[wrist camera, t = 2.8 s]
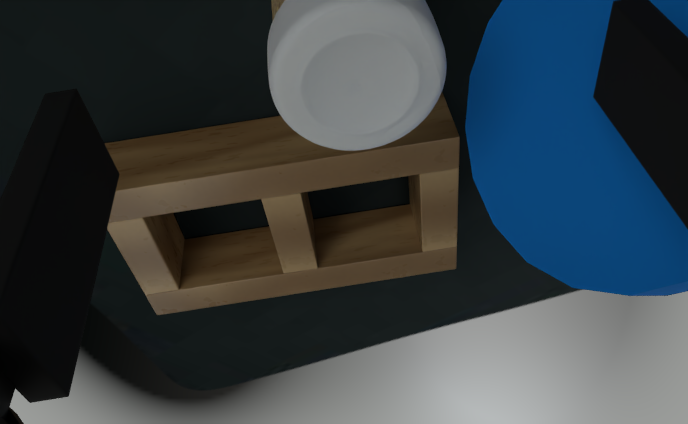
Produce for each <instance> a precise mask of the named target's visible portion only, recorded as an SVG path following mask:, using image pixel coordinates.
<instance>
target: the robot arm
mask: <svg viewBox="0 0 688 424" xmlns="http://www.w3.org/2000/svg"><path fill="white" fill-rule="evenodd" d="M593 98H594V99H595V100H596V102H597V103H598V105H599V106H600V107H601V109H602V110H603V112H604V113H605V114H606V116H607V117H608V119H609V120H610V121H611V123H612V124H613V126H614V127H615V128H616V130H617V131H618V132H619V134H620V135H621V137H622V138H623V139H624V141H625V142H626V144H627V145H628V146H629V148H630V149H631V151H632V152H633V153H634V155H635V156H636V158H637V159H638V160H639V162H640V163H641V165H642V166H643V167H644V169H645V170H646V172H647V173H648V174H649V176H650V177H651V179H652V180H653V181H654V183H655V184H656V186H657V187H658V188H659V190H660V191H661V193H662V194H663V195H664V197H665V198H666V200H667V201H668V202H669V204H670V205H671V207H672V208H673V209H674V211H675V212H676V214H677V215H678V216H679V218H680V219H681V221H682V222H683V223H684V225H685V226H686V228H687V229H688V37H687V36H686V35H685V34H684V33H683V32H682V31H681V30H679V29H678V28H677V27H676V26H675V25H674V24H673V23H672V22H671V21H670V20H669V19H668V18H667V17H666V16H665V15H664V14H663V13H662V12H661V11H660V10H659V9H658V8H657V7H656V6H655V5H654V4H652V3H651V2H650V1H649V0H617V1H613V4H612V9H611V14H610V18H609V23H608V28H607V33H606V38H605V42H604V47H603V52H602V57H601V61H600V66H599V71H598V76H597V81H596V85H595V90H594V95H593ZM119 175H120V174H119V172H118V170H117V168H116V166H115V164H114V162H113V160H112V158H111V156H110V154H109V152H108V150H107V148H106V146H105V144H104V142H103V140H102V138H101V136H100V134H99V132H98V130H97V128H96V126H95V124H94V122H93V120H92V118H91V116H90V114H89V112H88V110H87V108H86V106H85V105H84V103H83V101H82V99H81V97H80V95H79V93H78V91H77V89H72V90H66V91H60V92H53V93H47V94H45V95H44V98H43V100H42V102H41V105H40V107H39V109H38V112H37V114H36V116H35V119H34V121H33V124H32V126H31V128H30V131H29V133H28V135H27V138H26V140H25V142H24V145H23V147H22V150H21V152H20V154H19V157H18V159H17V161H16V164H15V166H14V168H13V171H12V173H11V176H10V178H9V180H8V183H7V185H6V187H5V190H4V192H3V194H2V197H1V199H0V424H24V423H23V422H22V421H21V419H20V418H19V416H18V415H17V414H16V413H15V412H14V411H13V410H12V409H11V408H10V407H9V406H10V403H11V400H12V397H13V393H14V390H15V388H16V389H17V390H18V391H19V392H20V393H21V394H22V395H23V396H24V397H25V398H26V399H27V400H28V401H29V402H30V403H31V402H37V401H43V400H49V399H56V398H62V397H68V396H69V392H70V388H71V384H72V379H73V375H74V371H75V366H76V362H77V358H78V353H79V349H80V344H81V340H82V336H83V331H84V327H85V323H86V318H87V314H88V310H89V305H90V301H91V297H92V292H93V288H94V284H95V279H96V275H97V271H98V266H99V262H100V258H101V253H102V249H103V244H104V240H105V236H106V231H107V227H108V223H109V218H110V214H111V210H112V205H113V201H114V197H115V192H116V188H117V183H118V179H119Z"/></svg>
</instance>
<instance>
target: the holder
mask: <svg viewBox="0 0 688 424" xmlns="http://www.w3.org/2000/svg"><path fill="white" fill-rule="evenodd" d="M105 146H106V148H107V150H108V152H109V154H110V156H111V158H112V160H113V162H114V164H115V166H116V168H117V170H118V172H119V174H120V175H119V179H118V183H117V188H116V192H115V197H114V201H113V205H112V210H111V214H110V218H109V223H108V227H107V229H108V231H109V233H110V235H111V236H112V238H113V240H114V241H115V243H116V245H117V247H118V248H119V250H120V252H121V253H122V255H123V257H124V259H125V260H126V262H127V264H128V266H129V267H130V269H131V271H132V272H133V274H134V276H135V278H136V279H137V281H138V283H139V284H140V286H141V288H142V290H143V291H144V293H145V294H146V297H147V299H148V300H149V302H150V304H151V306H152V307H153V309H154V311H155V312H156V314H157V315H162V314H169V313H175V312H181V311H188V310H194V309H201V308H207V307H214V306H220V305H226V304H233V303H239V302H246V301H252V300H258V299H265V298H271V297H278V296H284V295H291V294H297V293H303V292H310V291H316V290H323V289H329V288H336V287H342V286H348V285H355V284H361V283H368V282H374V281H381V280H387V279H393V278H400V277H406V276H413V275H419V274H425V273H432V272H438V271H445V270H451V269H456V261H457V221H458V181H459V146H460V137H459V134H458V131H457V129H456V126H455V124H454V121H453V118H452V116H451V113H450V111H449V108H448V105H447V103H446V100H445V98H444V95H443V93H442V92H441V95H440V97H439V99H438V101H437V103H436V104H435V106H434V108H433V109H432V111H431V112H430V113H429V115H428V116H427V117H426V118H425V119H424V120H423V121H422V122H421V123H420V124H419V125H418V126H417V127H416V128H415V129H413V130H412V131H411V132H409V133H408V134H406V135H405V136H403V137H401V138H400V139H398V140H395V141H393V142H391V143H388V144H386V145H383V146H380V147H376V148H372V149H366V150H357V151H344V150H337V149H332V148H328V147H324V146H320V145H318V144H315V143H313V142H311V141H309V140H307V139H305V138H304V137H302V136H301V135H299V134H298V133H297V132H295V131H294V130H293V129H292V128H291V127H290V126H289V125H288V124H287V123H286V122H285V121H284V119H283V118H282V117H281V116H275V117H269V118H262V119H256V120H250V121H243V122H237V123H231V124H225V125H218V126H212V127H206V128H199V129H193V130H187V131H180V132H174V133H168V134H161V135H155V136H149V137H142V138H136V139H130V140H123V141H117V142H111V143H105ZM404 176H408V179H409V197H410V204H408V205H401V206H395V207H389V208H382V209H376V210H370V211H363V212H357V213H350V214H344V215H338V216H331V217H325V218H319V219H313V215H312V211H311V206H310V202H309V197H308V193H307V192H309V191H315V190H322V189H328V188H334V187H341V186H347V185H353V184H360V183H366V182H372V181H379V180H385V179H392V178H398V177H404ZM258 199H261V200H262V203H263V206H264V210H265V213H266V216H267V220H268V223H269V226H267V227H261V228H255V229H248V230H242V231H236V232H229V233H223V234H216V235H210V236H204V237H197V238H191V239H184V236H183V234H182V232H181V230H180V228H179V225H178V223H177V221H176V219H175V217H174V214H173V213H175V212H182V211H188V210H194V209H201V208H207V207H213V206H220V205H226V204H232V203H239V202H245V201H252V200H258Z"/></svg>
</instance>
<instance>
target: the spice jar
mask: <svg viewBox="0 0 688 424" xmlns="http://www.w3.org/2000/svg"><path fill="white" fill-rule="evenodd" d="M271 2H272V13H273V22H272V24H271V28H270V31H269V37H268V47H267V59H268V76H269V87H270V91H271V95H272V98H273V101H274V104H275V106H276V108H277V110H278V112H279V113H280V115H281V117H282V118H283V119H284V121H285V122H286V123H287V124H288V125H289V126H290V127H291V128H292V129H293V130H294V131H295V132H297V133H298V134H299V135H301V136H302V137H304V138H305V139H307V140H309V141H311V142H313V143H315V144H318V145H320V146H324V147H328V148H332V149H337V150H344V151H357V150H366V149H372V148H376V147H380V146H383V145H386V144H388V143H391V142H393V141H395V140H398V139H400V138H401V137H403V136H405V135H406V134H408V133H409V132H411V131H412V130H413V129H415V128H416V127H417V126H418V125H419V124H420V123H421V122H422V121H423V120H424V119H425V118H426V117H427V116H428V115H429V113H430V112H431V111H432V109H433V108H434V106H435V104H436V103H437V101H438V99H439V97H440V95H441V92H442V90H443V86H444V82H445V77H446V54H445V49H444V45H443V42H442V39H441V36H440V33H439V30H438V28H437V25H436V23H435V20H434V18H433V15H432V13H431V11H430V9H429V7H428V5H427V3H426V1H425V0H271Z"/></svg>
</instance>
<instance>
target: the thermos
mask: <svg viewBox="0 0 688 424" xmlns="http://www.w3.org/2000/svg"><path fill="white" fill-rule="evenodd" d="M613 1H617V0H502V2H501V3H500V5H499V6H498V8H497V10H496V11H495V13H494V14H493V16H492V17H491V19H490V20H489V22H488V24H487V27H486V30H485V33H484V36H483V39H482V42H481V45H480V48H479V50H478V53H477V56H476V59H475V62H474V65H473V68H472V71H471V74H470V81H469V92H468V103H467V114H466V125H465V130H466V136H467V143H468V149H469V156H470V162H471V169H472V175H473V180H474V182H475V184H476V186H477V188H478V191H479V193H480V195H481V197H482V200H483V202H484V204H485V206H486V209H487V211H488V213H489V215H490V217H491V220H492V222H493V224H494V225H495V226H496V228H497V229H498V230H499V231H500V232H501V233H502V234H503V236H504V237H505V238H506V239H507V240H508V241H509V242H510V244H511V245H512V246H513V247H514V248H515V249H516V250H517V251H518V253H519V254H520V255H521V256H522V257H523V258H524V259H525V261H526V262H528V263H529V264H531V265H533V266H535V267H537V268H538V269H540V270H542V271H544V272H545V273H547V274H549V275H551V276H553V277H554V278H556V279H558V280H560V281H562V282H563V283H565V284H567V285H569V286H570V287H572V288H578V289H585V290H593V291H600V292H607V293H614V294H621V295H628V296H658V295H660V296H661V295H662V296H663V295H664V296H666V295H667V296H668V295H672V294H676V293H681V292H685V291H688V229H687V228H686V226H685V225H684V223H683V222H682V221H681V219H680V218H679V216H678V215H677V214H676V212H675V211H674V209H673V208H672V207H671V205H670V204H669V202H668V201H667V200H666V198H665V197H664V195H663V194H662V193H661V191H660V190H659V188H658V187H657V186H656V184H655V183H654V181H653V180H652V179H651V177H650V176H649V174H648V173H647V172H646V170H645V169H644V167H643V166H642V165H641V163H640V162H639V160H638V159H637V158H636V156H635V155H634V153H633V152H632V151H631V149H630V148H629V146H628V145H627V144H626V142H625V141H624V139H623V138H622V137H621V135H620V134H619V132H618V131H617V130H616V128H615V127H614V126H613V124H612V123H611V121H610V120H609V119H608V117H607V116H606V114H605V113H604V112H603V110H602V109H601V107H600V106H599V105H598V103H597V102H596V100H595V99H594V98H593V95H594V90H595V85H596V81H597V76H598V71H599V66H600V61H601V57H602V52H603V47H604V42H605V38H606V33H607V28H608V23H609V18H610V14H611V9H612V4H613ZM649 1H650V2H651V3H652V4H654V5H655V6H656V7H657V8H658V9H659V10H660V11H661V12H662V13H663V14H664V15H665V16H666V17H667V18H668V19H669V20H670V21H671V22H672V23H673V24H674V25H675V26H676V27H677V28H678V29H679V30H681V31H682V32H683V33H684V34H685V35H686V36H687V37H688V0H649Z"/></svg>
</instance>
